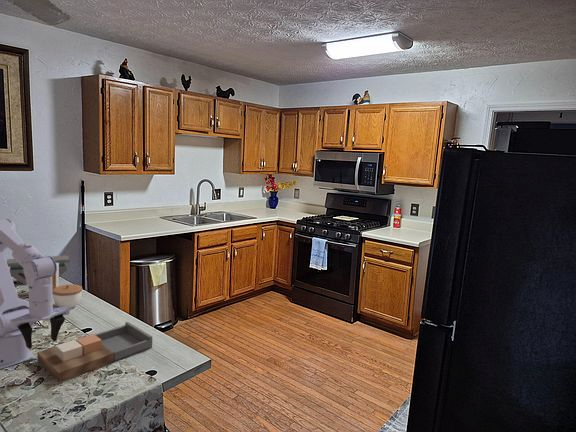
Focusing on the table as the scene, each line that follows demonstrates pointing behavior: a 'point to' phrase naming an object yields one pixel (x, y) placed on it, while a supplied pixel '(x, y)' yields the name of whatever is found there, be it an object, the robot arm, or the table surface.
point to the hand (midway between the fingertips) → (41, 343)
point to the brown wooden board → (73, 362)
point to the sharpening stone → (18, 272)
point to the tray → (125, 340)
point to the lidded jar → (67, 295)
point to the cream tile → (68, 350)
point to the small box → (55, 278)
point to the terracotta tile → (90, 343)
